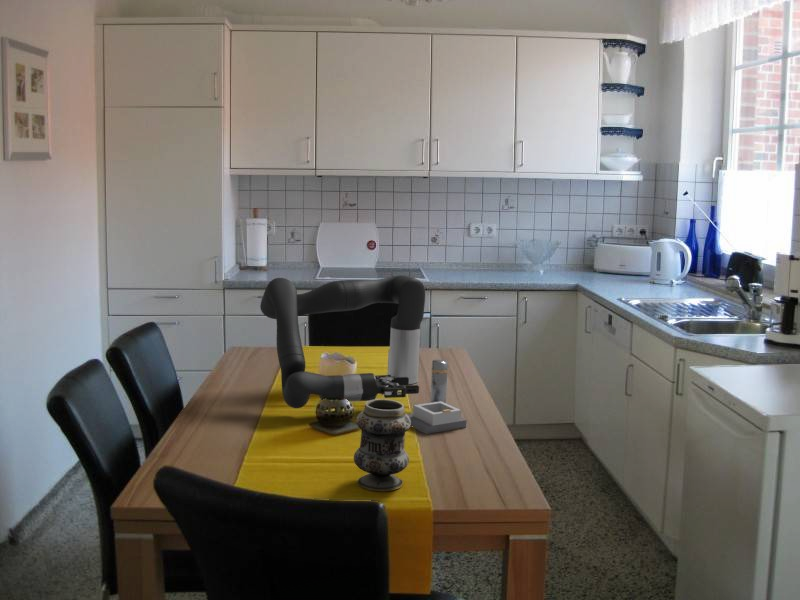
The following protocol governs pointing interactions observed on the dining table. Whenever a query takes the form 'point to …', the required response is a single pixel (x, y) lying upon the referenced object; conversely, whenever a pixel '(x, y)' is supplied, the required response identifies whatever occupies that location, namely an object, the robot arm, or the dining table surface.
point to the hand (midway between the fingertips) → (413, 385)
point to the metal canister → (439, 381)
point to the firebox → (436, 417)
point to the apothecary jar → (382, 444)
